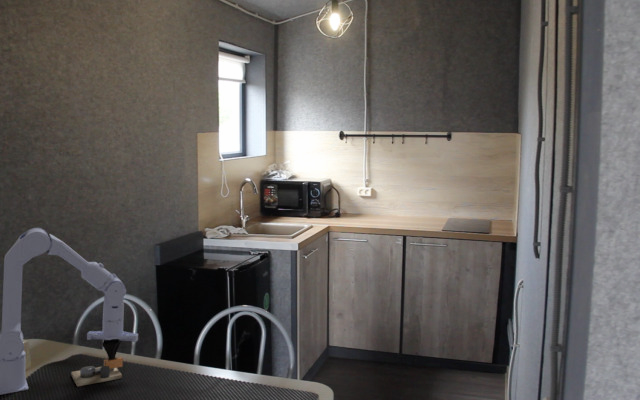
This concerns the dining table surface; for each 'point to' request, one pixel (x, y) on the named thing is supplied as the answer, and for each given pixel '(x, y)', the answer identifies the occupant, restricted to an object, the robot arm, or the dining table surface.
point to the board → (95, 377)
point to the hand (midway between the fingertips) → (112, 363)
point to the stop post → (104, 372)
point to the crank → (91, 370)
